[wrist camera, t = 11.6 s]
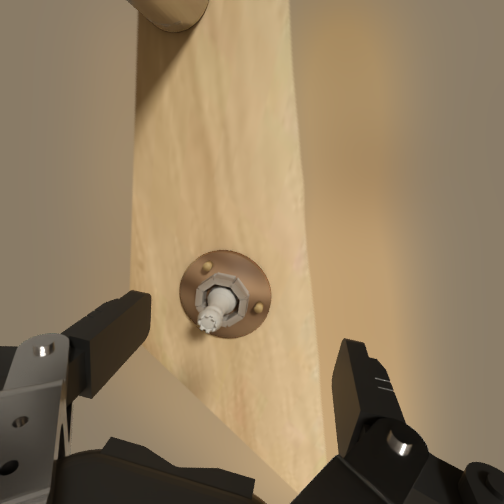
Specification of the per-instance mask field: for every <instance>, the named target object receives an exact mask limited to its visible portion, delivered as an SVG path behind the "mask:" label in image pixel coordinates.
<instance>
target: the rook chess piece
mask: <svg viewBox="0 0 504 504" xmlns="http://www.w3.org/2000/svg"><path fill="white" fill-rule="evenodd" d="M237 303H238V297H237V296H236V294H235V293H234V292H233V290H232V289H231V288H230V287H226V286H221V285H217V286H215V287H213V288H212V289H211V291H210V293H209V295H208V306H207V307H206V308H205V309H204V310H202V311H201V312H200V313H199V315H198V325H199V326H200V328H199V329H200V330H201V331H202V330H205V331H206V332H205V333H210V332H212V333H213V332H214V331H217V330H218V329H220V327H221V325H222V319H223V315H225V314H228V313H230V312H231V311H233V310H234V308H235V307H236V305H237Z"/></svg>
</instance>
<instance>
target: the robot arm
mask: <svg viewBox="0 0 504 504" xmlns="http://www.w3.org/2000/svg"><path fill="white" fill-rule="evenodd" d="M127 1H128V2H129V3H130V4H131V5H133V6H134V7H135V8H136V9H137V10H138V11H139V12H140V13H142V14H143V15H144V16H145V17H146V18H147V19H148V20H149V21H151V22H152V23H153V24H154V25H155V26H157V27H158V28H160V29H162V30H164V31H168V32H180V31H184V30H187V29H188V28H190V27H192V26H193V25H194V24H195V23H196V22H197V21H198V20H199V19H200V18H201V16H202V15H203V13H204V11H205V9H206V7H207V5H208V1H209V0H127ZM150 321H151V295H150V294H148V293H143V292H139V291H135V290H131V291H129V292H128V293H127V294H125V295H124V296H123V297H121V298H120V299H114V300H111V301H109V302H106V303H104V304H102V305H101V306H99V307H98V308H97V309H95V311H92V312H91V313H89V314H88V315H87V317H86V316H85V317H84V318H82V319H81V320H80V321H78V322H77V323H75V324H74V325H72V326H71V327H70V328H68V329H67V330H65V331H64V332H62V333H61V334H57V333H48V334H42V335H38V336H35V337H32V338H30V339H28V340H26V341H24V342H23V343H21V345H19V346H18V347H12V346H10V347H9V346H0V504H266V503H265V502H264V501H263V500H262V499H260V498H259V497H257V496H256V495H254V494H253V489H254V483H255V479H253V478H249V477H245V476H242V475H239V474H236V473H232V472H229V471H225V470H222V469H219V468H181V467H176V466H174V465H172V464H170V463H169V462H167V461H166V460H164V459H163V458H161V457H160V456H158V455H157V454H155V453H154V452H152V451H151V450H149V449H148V448H146V447H144V446H141V445H137V444H134V443H131V442H127V441H124V440H120V439H117V438H113V437H111V438H110V439H109V440H108V442H107V443H106V445H105V446H104V447H103V449H95V450H88V451H83V452H78V453H75V454H72V455H70V451H71V435H72V419H73V401H74V400H75V399H76V398H77V396H78V395H79V396H83V397H86V398H90V399H92V398H93V397H94V396H95V395H96V394H97V393H98V391H99V390H100V389H101V388H102V387H103V386H104V385H105V384H106V383H107V382H108V380H109V379H110V378H111V377H112V376H113V375H114V374H115V373H116V372H117V371H118V369H119V368H120V367H121V366H122V365H123V364H124V363H125V362H126V361H127V359H128V358H129V357H130V356H131V355H132V354H133V353H134V352H135V351H136V350H137V349H138V347H139V346H140V345H141V344H142V343H143V342H144V341H145V339H146V338H147V336H148V333H149V330H150ZM332 393H333V403H334V413H335V423H336V432H337V442H338V451H339V454H338V455H336V456H335V457H334V458H332V460H331V461H330V462H329V463H328V464H327V465H326V466H325V467H324V468H323V469H322V470H321V471H320V472H319V473H318V474H317V475H316V476H315V478H314V479H313V480H312V481H311V482H310V483H309V484H308V485H307V486H306V487H305V488H304V489H303V490H302V491H301V492H300V493H299V495H298V496H297V497H296V498H295V499H294V500H293V501H292V502H291V503H290V504H504V473H503V472H502V471H500V470H498V469H497V468H495V467H493V466H491V465H488V464H485V463H481V462H472V463H469V464H468V465H467V467H466V468H465V470H464V471H462V470H460V469H458V468H456V467H454V466H452V465H450V464H448V463H447V462H445V461H443V460H441V459H439V458H437V457H435V456H434V455H432V454H431V453H429V451H428V447H427V445H426V443H425V441H424V440H423V438H422V437H421V436H420V435H419V434H418V433H417V432H416V431H415V430H414V429H413V428H411V427H410V426H408V425H407V424H406V423H405V420H404V417H403V414H402V411H401V409H400V406H399V403H398V401H397V398H396V396H395V393H394V392H393V387H392V385H391V383H390V379H389V377H388V374H387V371H386V369H385V368H384V367H383V366H382V365H381V363H380V362H379V361H378V360H377V359H374V358H370V357H369V356H368V353H367V350H366V347H365V344H364V343H363V342H359V341H354V340H350V339H345V338H344V339H343V340H342V343H341V346H340V350H339V353H338V357H337V361H336V364H335V367H334V371H333V376H332Z"/></svg>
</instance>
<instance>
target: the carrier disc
mask: <svg viewBox="0 0 504 504" xmlns="http://www.w3.org/2000/svg"><path fill="white" fill-rule="evenodd" d="M217 285H221V286H226V287H230V288H231V289H232V290H233V292H234V293H235V294H236V296H237V297H238V303H237V305H236V307H235V308H234V310H233V311H231V312H230V313H228V314H225V315H223V319H222V325H221V327H220V329H218V330H217V331H214V332H213V333H212V332H210V334H213V335H216V336H219V337H225V338H236V337H241V336H244V335H247V334H249V333H251V332H253V331H254V330H256V329H257V328H258V327H259V326H260V325H261V324H262V323H263V322H264V320H265V318H266V317H267V314H268V312H269V308H270V304H271V289H270V285H269V282H268V279H267V277H266V275H265V274H264V272H263V271H262V269H261V268H260V267H259V266H258V265H257V264H256V263H255V262H254V261H252V260H251V259H250V258H248V257H246V256H244V255H242V254H240V253H237V252H233V251H228V250H217V251H212V252H208V253H206V254H203V255H202V256H200V257H198V258H197V259H196V260H195V261H194V262H193V263H191V264H190V266H189V267H188V268H187V269H186V271H185V273H184V275H183V277H182V280H181V285H180V296H181V301H182V304H183V307H184V309H185V311H186V313H187V314H188V316H189V317H190V319H191V320H192V321H193V322H194V323H195V324H196V325H197V327H198V328H200V326H199V325H198V315H199V313H200V312H201V311H202V310H204V309H205V308H206V307H207V306H208V295H209V293H210V291H211V289H212V288H213V287H215V286H217ZM204 331H205V330H204Z"/></svg>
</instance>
